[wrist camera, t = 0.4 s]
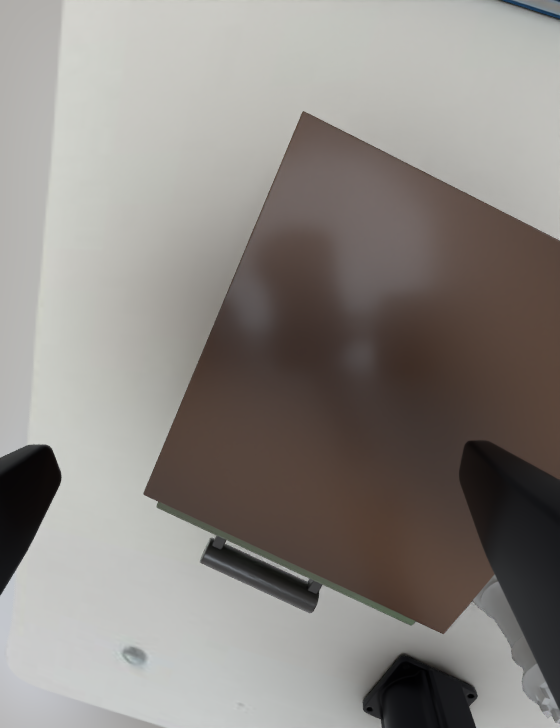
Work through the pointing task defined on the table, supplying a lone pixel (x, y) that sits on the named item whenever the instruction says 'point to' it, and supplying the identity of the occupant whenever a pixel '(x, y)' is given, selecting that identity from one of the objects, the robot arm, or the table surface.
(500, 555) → the robot arm
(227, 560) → the drawer
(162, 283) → the table surface
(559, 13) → the sketchbook
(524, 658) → the rook chess piece
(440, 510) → the cabinet
